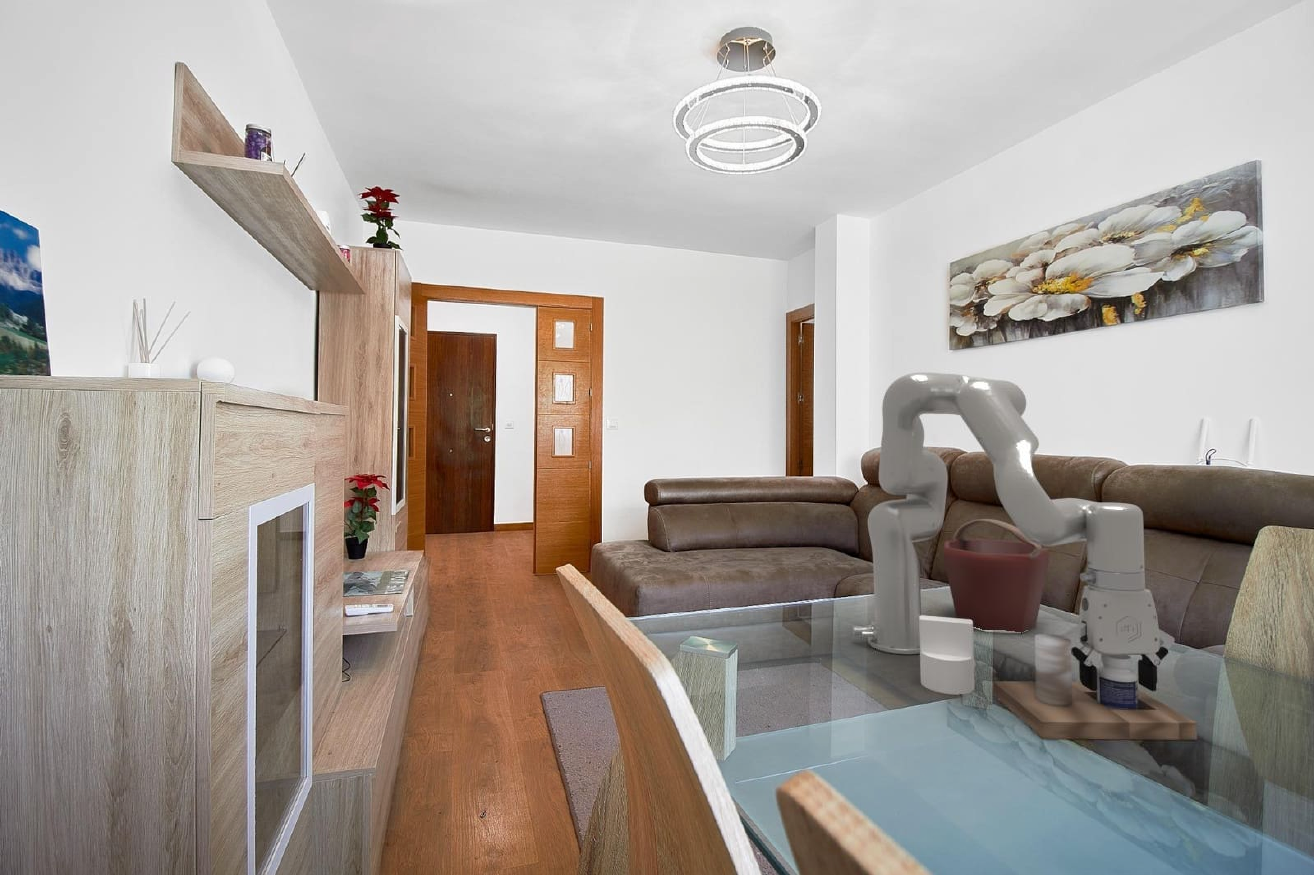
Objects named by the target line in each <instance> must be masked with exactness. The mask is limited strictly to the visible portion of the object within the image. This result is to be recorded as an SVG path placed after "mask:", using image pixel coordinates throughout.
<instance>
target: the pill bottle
mask: <svg viewBox="0 0 1314 875" xmlns="http://www.w3.org/2000/svg"><path fill="white" fill-rule="evenodd" d="M1100 656H1101V657H1100V661H1101V663H1102V664H1101V665H1098V666H1096V668H1097V701H1098V702H1099V703H1101V704H1102V705H1104V706H1105V707H1107V708H1108V709H1110V710H1138V690H1139V689H1138V685H1139V683H1138V674H1137V673H1136V672H1135V671H1134V670H1133V669H1131V668H1132V665H1133V662H1132V657H1131V655H1106V654H1100Z"/></svg>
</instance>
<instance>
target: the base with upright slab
mask: <svg viewBox="0 0 1314 875" xmlns="http://www.w3.org/2000/svg"><path fill="white" fill-rule="evenodd" d="M919 631H920V653H919V665H920V667H919V668H920V669H919V670H920V673H919V674H920V684H921V685H922V686H923V687H924V688H926V689H927V690H930V691H933V692H937V693H940V694H945V695H953V696H954V695H957V696H958V695H959V694H962V695H967V694H972V693H973V692H974V691H975V655H974V654H975V653H974V652H975V650H974V629H973V621H972V620H970V619H958V618H957V617H947V616H934V615H925V614H924V615H923V614H921V616H920V617H919ZM973 690H974V691H973ZM972 691H973V692H972ZM959 696H960V695H959Z"/></svg>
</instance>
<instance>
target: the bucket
mask: <svg viewBox="0 0 1314 875" xmlns="http://www.w3.org/2000/svg"><path fill="white" fill-rule="evenodd" d="M981 523H982V524H983V523H987V524H991V525H994V526H995V527H998V528H1001V529H1003V530H1004V531H1007V532H1009V533H1011V535H1013V536H1014V537H1015V538H1016V539H1017V540H1018V541H1011V540H999V539H998V540H997V539H985V538H976V539H975V538H974V539H972V538H971V539H966V538H965V536H966V535H967V534H968V532H969V531H970V530H971V529H972V528H973V527H975V526H977V525H979V524H981ZM1049 558H1050V556H1049V548H1045V547H1042V545H1039V544H1036V543H1034V542H1032V541H1031V540H1029V539H1028V538H1027V537H1026V536H1025V535H1024V534H1023V533H1022V532H1021V531H1020V530H1019V528H1018V527H1017V526H1016V525H1015V526H1014V525H1012V524H1010V523H1008V522H1005V521H1001V520H998V519H991V518H982V519H981V518H980V519H978V518H977V519H973V520H971V521H970V520H969V521H968V522H965V523H964V524H962V525H961V526H960V527H958V528H957V530H956V531H955V533H954V534H953V540H945V541H944V545H943V562H944V566H945V570H946V576H947V579H948V580H947V581H948V586H949V589H950V594H951V598H952V602H953V608H954V611H955V615H956V617H955V618H958V619H970V620H972V621H973V627H976V628H980V629H982V630H1006V631H1015V632H1021V633H1022V632H1024V631H1026V630H1029V631H1031V630H1033V629H1035V628H1036V627H1037V620H1038V616H1039V612H1040V606H1041V602H1042V597H1043V592H1044V587H1045V582H1046V578H1047V572H1048V566H1049V563H1050V560H1049ZM1022 634H1023V633H1022Z"/></svg>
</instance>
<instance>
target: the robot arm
mask: <svg viewBox="0 0 1314 875" xmlns="http://www.w3.org/2000/svg"><path fill="white" fill-rule="evenodd" d="M1026 407H1027V398H1026V395H1025V394H1024V392H1023V390H1022V388H1020V387H1019V385H1017V384H1015V383H1013V382H1011V381H1008V380H1001V379H1000V380H999V379H991V378H984V377H976V376H969V375H963V374H952V373H941V372H938V373H937V372H915V373H913V372H912V373H908V374H905V375H903V376H901V377H899V378H897V379H895V380H894V381H893V382H892V383H891V384H890V385H889V386H888V387H887V389H886V391H885V394H884V396H883V398H882V407H881V408H882V410H881V411H882V413H881V414H882V431H881V432H882V433H881V434H882V435H881V442H880V453H879V467H878V481H879V482H878V483H879V485H880V487H881V489H882V490H883V491H884V492H886V493H888V494H889V495H890V494H891V495H895V496H905V495H906V499H904V498H903V499H894V500H887V501H886V500H885V501H883V502H880V503H878V504H876V505H875V506H874V507H873V508H872V509H871V510H870V512H869V514H868V518H867V529H868V534H869V538H870V543H871V550H872V551H871V552H872V562H873V564H872V565H873V566H872V567H873V568H872V569H873V593H874V594H873V595H874V598H873V599H874V600H873V601H874V605H873V606H874V620H871V621H870V624H867V625H866V626H862V625H853V626H852V634H853V636H861V638H867V643H868V645H869V644H870V645H871V646H870V645H869V646H870V647H872V648H873V649H875V648H876V649H875V650H878V651H881V652H884V653H889V654H895V655H896V654H898V655H918V654H920V631H919V617H920V616H921V615H922V602H921V601H922V600H921V595H922V594H921V568H920V567H921V566H920V560H919V557H918V554H917V552H916V549H915V547H914V545H913V543H916V542H921V541H922V542H923V541H927V540H930V539H931V540H932V539H933V538H935V537H937V535H938V534H939V533H940V532H941V529H942V528H943V525H944V521H945V520H944V518H945V512H946V511H945V510H946V509H945V508H946V500H947V493H948V492H947V491H948V478H949V476H948V470H947V466H946V464H945V461H943V459H942V457H941V456H939V455H938V454H937V453H935V452H933V451H930V450H924V443H925V429H924V426H923V422H922V419H921V417H920V416H922V415H927V414H929V415H930V414H933V415H956V416H960V417H961V419H962V421H963V422H964V424H965V425H966V427H968V429H969V430H970V432H971V434H972V435H973V437H974V438H975V439H976V441H977V443H978V444H979V445H980V447H981V448H982V450H983V451H984V452H985V454H986V455H987V458H988V459H989V460H990V462H991V463H992V466H993V478H994V484H995V490H996V493H997V496H998V499H999V500H1000V503H1001V504H1002V505H1001V506H1003V509H1004V510H1005V512H1006V513H1007V514H1008V515H1009V517H1010V519H1011V520H1012V522H1013V523H1014V524H1015V527H1017V528H1019V530H1020V531H1021V532H1022V533H1023V534H1024V535H1025V536H1026V537H1027V538H1028V539H1029V540H1031V541H1032V542H1034V543H1036V544H1039V545H1041V546H1043V547H1053V546H1054V547H1055V546H1060V545H1064V544H1070V543H1076V542H1086V566H1087V567H1086V568H1085V572H1082V573H1081V572H1080V574H1079V579H1080V581H1081V582H1086V584H1087V585H1083V589H1082V592H1081V593H1082V594H1081V599H1080V604H1079V611H1078V614H1079V615H1078V625H1076V626H1074V627H1073V628H1071V629H1070V630H1068V631H1066V632H1065V633H1063V634H1062V635H1060V636H1061V638H1062V639H1064V640H1071V656H1073V657H1074V658H1075V659H1076V660H1077V661H1078V665H1079V668H1078V669H1079V670H1078V672H1079V673H1078V674H1079V680H1080V681H1081V683H1082V685H1084V686H1085V687H1087V688H1088V689H1090V690H1091V691H1096V690H1097V666H1096V665H1094V663H1095V662H1096V660H1097V659H1098V658H1099V656H1101V654H1106V655H1128V656H1133V655H1134V656H1140V658H1141V659H1138V661H1137V681H1138V685H1140V686H1142V687H1143V688H1146V689H1147V690H1149V691H1150V692H1156V691H1157V683H1158V667H1160V666H1161V665H1162V660H1163V659H1165V657H1166V656H1167V655H1168V654H1169V650H1170V649H1171V647H1172V646H1173V644H1174V643H1175V641H1176V640H1175V637H1174V636H1171V634H1168V633H1167V632H1165V631H1163V630H1161V629H1160V628H1159V627H1160V626H1159V621H1158V620H1159V619H1158V614H1157V609H1156V604H1155V601H1154V598H1153V594H1152V592H1151V590H1150V589H1148V588H1147V589H1146V580H1145V578H1146V576H1145V545H1144V544H1145V538H1144V537H1145V535H1144V533H1145V532H1144V514H1143V511H1142V508H1140V507H1139V506H1137V505H1136V504H1131V503H1125V502H1124V503H1123V502H1098V501H1092V500H1086V499H1082V498H1076V497H1074V498H1073V497H1065V498H1055V499H1051V498H1050V496H1049V495H1048V494H1047V492H1046V490H1044V488H1043V487H1042V485H1041V484H1040V482H1039V481H1038V479H1037V477H1036V475H1035V473H1034V469H1033V457H1034V455H1035V453H1036V451H1037V450H1038V448H1039V446H1040V442H1039V439H1038V437H1037V436H1036V435H1035V433H1034V432H1033V430H1032V429H1031V427H1030V426H1029V425H1028V424H1027V423H1026V421H1025V420H1024V418H1023V417H1022V416H1023V415H1024V413H1025V411H1026V409H1027V408H1026ZM1077 640H1079V642H1080V643H1081V644H1082V645H1081V647H1080V648H1079V647H1078V646H1077V643H1076V642H1077Z"/></svg>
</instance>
